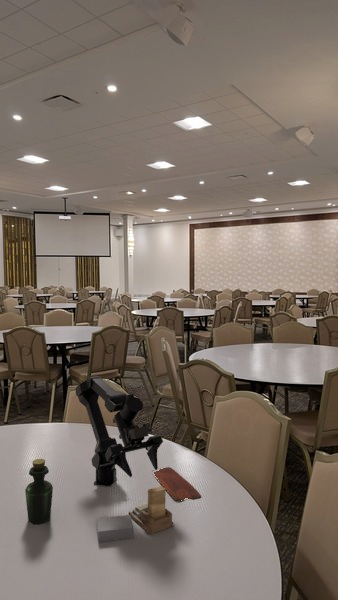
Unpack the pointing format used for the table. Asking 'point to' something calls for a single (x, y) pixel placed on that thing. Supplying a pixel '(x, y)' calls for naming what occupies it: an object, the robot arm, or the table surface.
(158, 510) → the oak block
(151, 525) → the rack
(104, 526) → the plinth
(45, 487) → the potion bottle
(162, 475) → the wooden tablet
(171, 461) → the table surface
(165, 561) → the table surface
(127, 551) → the table surface
